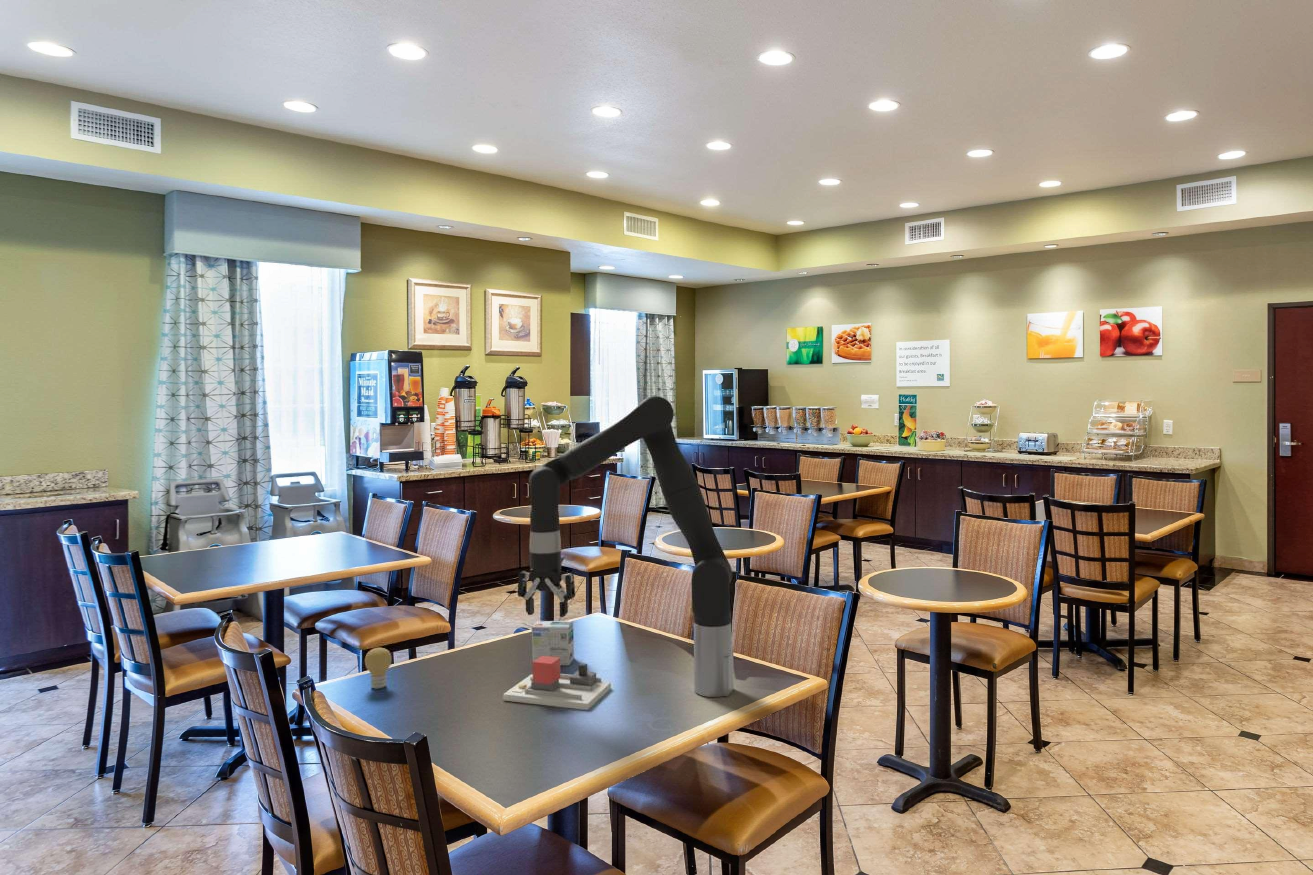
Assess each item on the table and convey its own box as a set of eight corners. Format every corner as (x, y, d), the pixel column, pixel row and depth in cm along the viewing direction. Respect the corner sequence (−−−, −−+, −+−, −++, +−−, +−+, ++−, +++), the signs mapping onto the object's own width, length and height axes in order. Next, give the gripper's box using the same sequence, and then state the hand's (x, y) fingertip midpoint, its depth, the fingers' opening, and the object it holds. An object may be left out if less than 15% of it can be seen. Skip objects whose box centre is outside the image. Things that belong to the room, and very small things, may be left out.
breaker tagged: (559, 687, 198) (558, 666, 198) (550, 694, 193) (549, 673, 193) (540, 685, 200) (540, 665, 200) (531, 692, 195) (531, 671, 195)
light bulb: (360, 688, 203) (359, 649, 203) (379, 681, 209) (378, 643, 208) (378, 693, 200) (377, 653, 200) (397, 684, 206) (396, 646, 205)
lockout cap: (560, 677, 198) (560, 657, 198) (551, 684, 193) (551, 663, 193) (542, 675, 200) (541, 655, 199) (532, 682, 195) (532, 661, 195)
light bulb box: (574, 658, 226) (574, 620, 226) (569, 666, 220) (569, 626, 219) (537, 657, 227) (536, 619, 227) (531, 665, 221) (530, 626, 220)
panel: (610, 688, 202) (610, 662, 202) (587, 709, 188) (587, 681, 187) (531, 679, 209) (531, 654, 208) (503, 700, 194) (502, 673, 194)
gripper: (578, 547, 197) (579, 613, 197) (525, 545, 201) (527, 609, 202) (566, 553, 189) (567, 621, 190) (511, 550, 194) (513, 617, 194)
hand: (546, 615), depth 196 cm, fingers open, 8 cm apart
